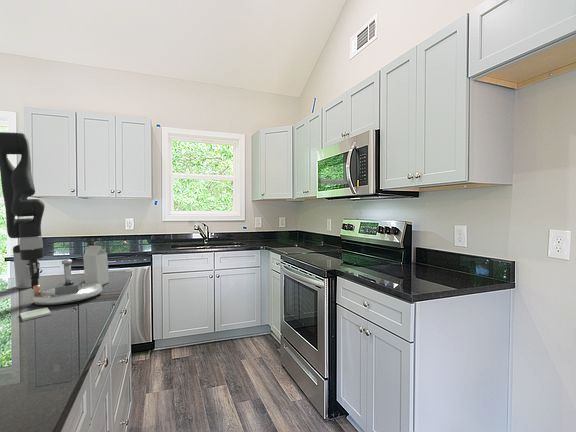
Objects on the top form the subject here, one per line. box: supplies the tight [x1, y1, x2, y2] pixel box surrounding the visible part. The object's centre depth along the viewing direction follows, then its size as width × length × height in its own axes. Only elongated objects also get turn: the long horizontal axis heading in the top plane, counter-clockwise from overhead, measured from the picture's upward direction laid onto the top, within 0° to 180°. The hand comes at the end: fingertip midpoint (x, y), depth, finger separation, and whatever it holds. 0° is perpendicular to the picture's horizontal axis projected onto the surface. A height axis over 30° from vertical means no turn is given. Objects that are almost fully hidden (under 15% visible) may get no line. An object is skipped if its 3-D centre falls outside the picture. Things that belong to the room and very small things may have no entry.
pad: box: [19, 307, 52, 322], centre depth 116 cm, size 8×8×1 cm
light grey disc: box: [32, 280, 103, 306], centre depth 135 cm, size 24×24×6 cm
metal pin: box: [61, 258, 73, 285], centre depth 135 cm, size 4×4×13 cm
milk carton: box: [82, 245, 110, 286], centre depth 155 cm, size 7×7×19 cm
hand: (35, 288), depth 133 cm, fingers closed
